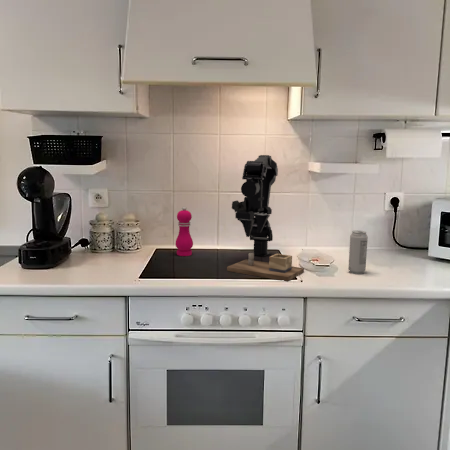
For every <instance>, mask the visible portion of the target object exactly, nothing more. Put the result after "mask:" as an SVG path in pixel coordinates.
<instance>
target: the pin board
mask: <svg viewBox="0 0 450 450" xmlns="http://www.w3.org/2000/svg"><path fill="white" fill-rule="evenodd" d="M247 255H248V259H247V258H245V259H243V260H241V261H238V262H236V263H232V264H231V265H228V266H227V267H226V272H232V273H237V274H243V275H250V276H255V277H261V278H266V279H270V280H271V279H272V280H277V281H282V280H284V281H283V282H290V281H291V280H293V279H294V278H296V277H298V276H300V275H302V274H303V273H305V267H304V268H303V267H297V266H293V265H292V269H291V270H290V271H288V272H286V273H281V272H275V271H269V262H266V261H260V260H255V259H254V258H255V255H254V253H253V252H248V254H247ZM279 258H284V257H279Z"/></svg>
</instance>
